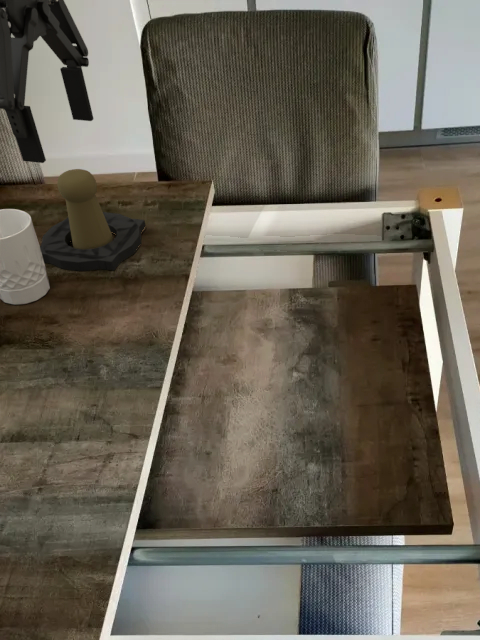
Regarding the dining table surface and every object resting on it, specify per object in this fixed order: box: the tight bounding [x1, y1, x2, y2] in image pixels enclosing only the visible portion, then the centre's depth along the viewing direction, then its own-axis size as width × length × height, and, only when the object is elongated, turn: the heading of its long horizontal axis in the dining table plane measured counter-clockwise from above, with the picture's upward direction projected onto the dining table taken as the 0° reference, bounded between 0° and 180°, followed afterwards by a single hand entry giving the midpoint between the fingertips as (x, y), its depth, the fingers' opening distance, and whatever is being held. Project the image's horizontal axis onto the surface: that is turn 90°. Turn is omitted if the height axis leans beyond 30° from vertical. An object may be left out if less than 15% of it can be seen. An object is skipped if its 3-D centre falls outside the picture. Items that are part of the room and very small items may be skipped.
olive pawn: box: [56, 168, 115, 249], centre depth 94 cm, size 6×6×11 cm
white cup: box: [0, 208, 51, 306], centre depth 86 cm, size 8×8×10 cm
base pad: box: [40, 211, 147, 272], centre depth 97 cm, size 14×14×2 cm
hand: (60, 139), depth 87 cm, fingers open, 13 cm apart
